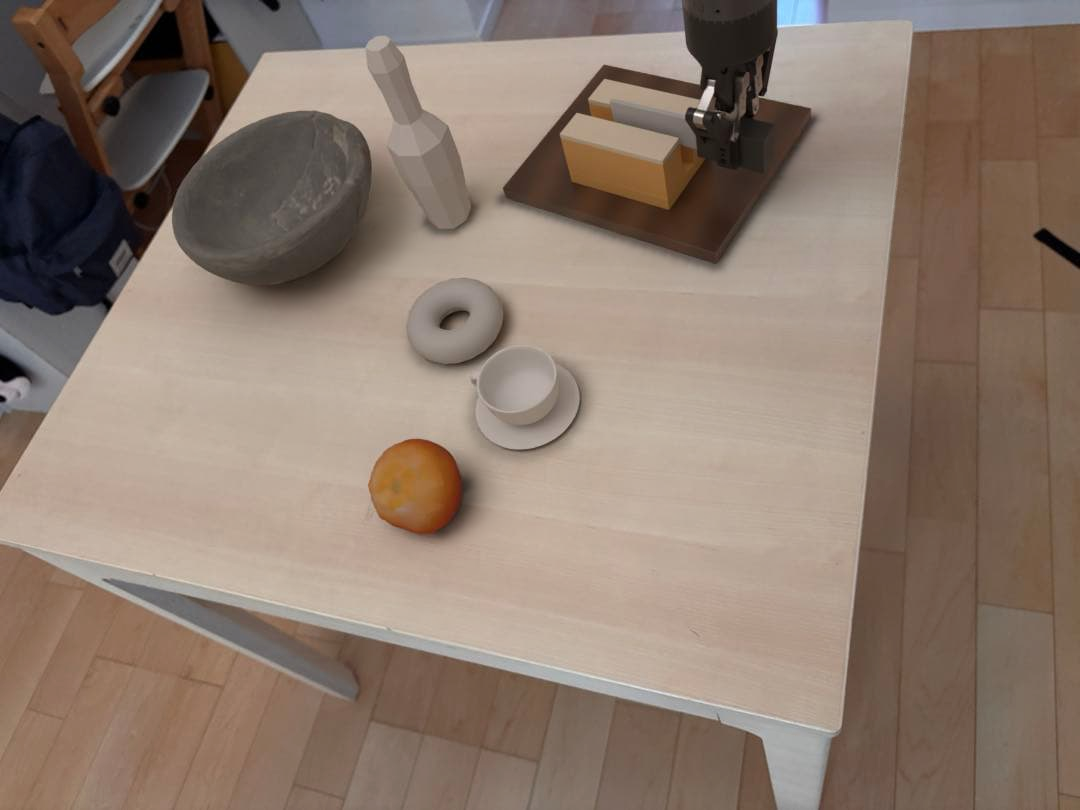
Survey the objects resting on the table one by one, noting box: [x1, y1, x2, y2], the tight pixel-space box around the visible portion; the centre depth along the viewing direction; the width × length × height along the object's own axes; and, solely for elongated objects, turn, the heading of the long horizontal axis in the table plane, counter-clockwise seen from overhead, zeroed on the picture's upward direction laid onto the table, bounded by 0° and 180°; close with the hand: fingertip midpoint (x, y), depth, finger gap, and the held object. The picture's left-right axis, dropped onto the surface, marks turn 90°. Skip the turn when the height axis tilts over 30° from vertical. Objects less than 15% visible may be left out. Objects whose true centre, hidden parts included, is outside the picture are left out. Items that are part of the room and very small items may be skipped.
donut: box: [405, 277, 504, 365], centre depth 87 cm, size 10×4×10 cm
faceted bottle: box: [364, 35, 472, 230], centre depth 89 cm, size 6×6×22 cm
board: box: [502, 64, 812, 264], centre depth 94 cm, size 26×22×2 cm
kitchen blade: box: [610, 99, 775, 173], centre depth 84 cm, size 17×2×4 cm, turn 57°
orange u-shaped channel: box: [560, 79, 705, 210], centre depth 90 cm, size 12×9×7 cm
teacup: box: [469, 343, 580, 450], centre depth 79 cm, size 10×10×5 cm
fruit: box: [367, 438, 464, 535], centre depth 75 cm, size 8×8×8 cm
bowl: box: [171, 110, 373, 286], centre depth 97 cm, size 23×22×10 cm
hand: (736, 154), depth 83 cm, fingers closed on kitchen blade, 2 cm apart
